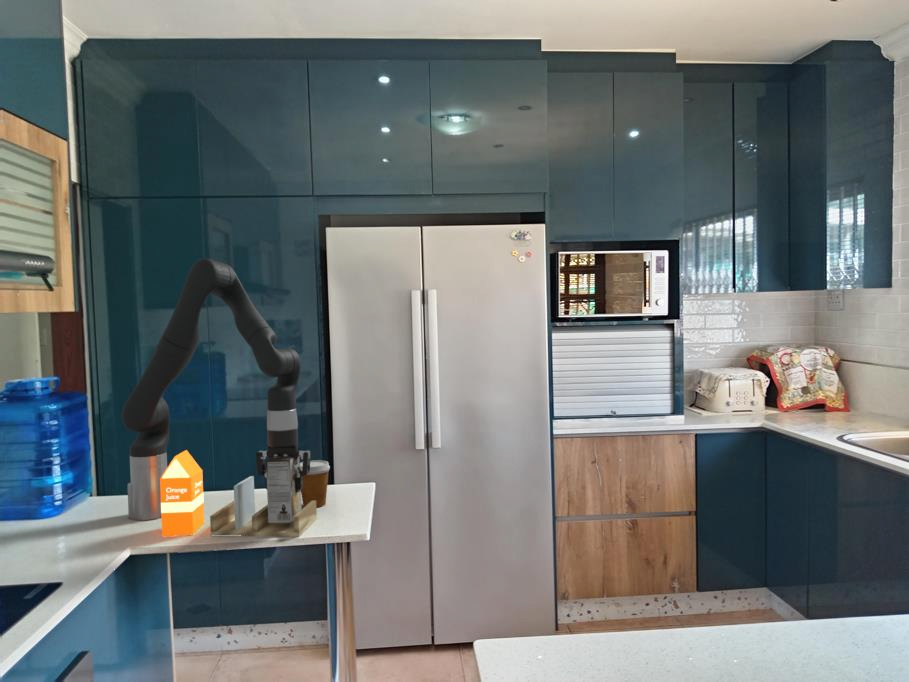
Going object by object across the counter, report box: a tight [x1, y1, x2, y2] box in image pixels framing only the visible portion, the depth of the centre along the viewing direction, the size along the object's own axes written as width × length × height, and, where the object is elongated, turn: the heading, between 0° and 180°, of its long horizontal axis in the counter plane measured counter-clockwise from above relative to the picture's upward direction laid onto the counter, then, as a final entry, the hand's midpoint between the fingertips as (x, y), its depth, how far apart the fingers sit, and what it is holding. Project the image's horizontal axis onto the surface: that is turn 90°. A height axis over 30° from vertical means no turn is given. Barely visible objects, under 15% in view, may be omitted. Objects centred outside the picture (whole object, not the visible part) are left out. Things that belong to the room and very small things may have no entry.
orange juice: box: [160, 449, 205, 537], centre depth 165 cm, size 8×9×20 cm
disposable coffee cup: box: [300, 459, 331, 508], centre depth 185 cm, size 10×10×12 cm
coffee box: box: [265, 455, 303, 523], centre depth 165 cm, size 9×6×16 cm
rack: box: [209, 500, 318, 538], centre depth 166 cm, size 23×14×5 cm, turn 85°
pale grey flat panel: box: [233, 475, 256, 530], centre depth 166 cm, size 1×10×11 cm, turn 174°
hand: (284, 491), depth 165 cm, fingers closed on coffee box, 6 cm apart
